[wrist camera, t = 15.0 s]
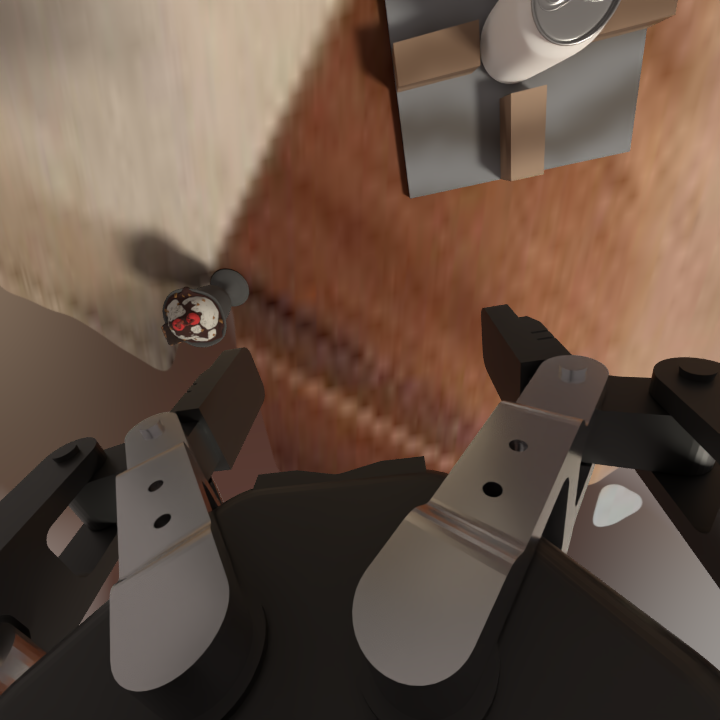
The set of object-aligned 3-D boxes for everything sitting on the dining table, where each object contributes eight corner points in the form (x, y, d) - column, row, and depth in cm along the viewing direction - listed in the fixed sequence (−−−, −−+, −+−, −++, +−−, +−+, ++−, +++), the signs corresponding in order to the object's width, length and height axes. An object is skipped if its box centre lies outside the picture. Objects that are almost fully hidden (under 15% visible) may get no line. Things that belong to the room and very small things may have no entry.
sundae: (252, 262, 45) (199, 307, 32) (257, 313, 48) (211, 372, 35) (200, 259, 45) (125, 302, 32) (208, 310, 48) (144, 368, 35)
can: (482, -6, 31) (533, -87, 21) (560, -14, 30) (653, -101, 20) (475, 88, 34) (516, 58, 24) (546, 82, 34) (620, 49, 23)
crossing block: (373, -90, 30) (372, -128, 26) (668, -189, 26) (718, -249, 22) (409, 197, 40) (412, 202, 36) (623, 151, 37) (652, 150, 33)
